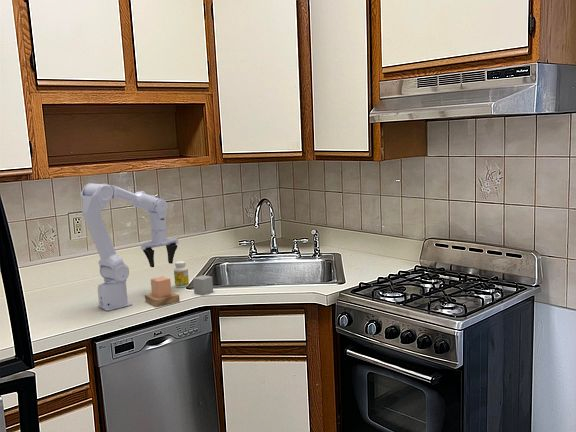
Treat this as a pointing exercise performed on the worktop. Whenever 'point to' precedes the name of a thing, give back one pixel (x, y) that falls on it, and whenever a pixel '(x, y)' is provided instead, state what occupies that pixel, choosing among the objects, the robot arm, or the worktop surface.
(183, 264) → the supplement bottle
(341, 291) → the worktop surface
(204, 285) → the slate block
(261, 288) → the worktop surface
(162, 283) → the terracotta block
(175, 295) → the walnut slab
